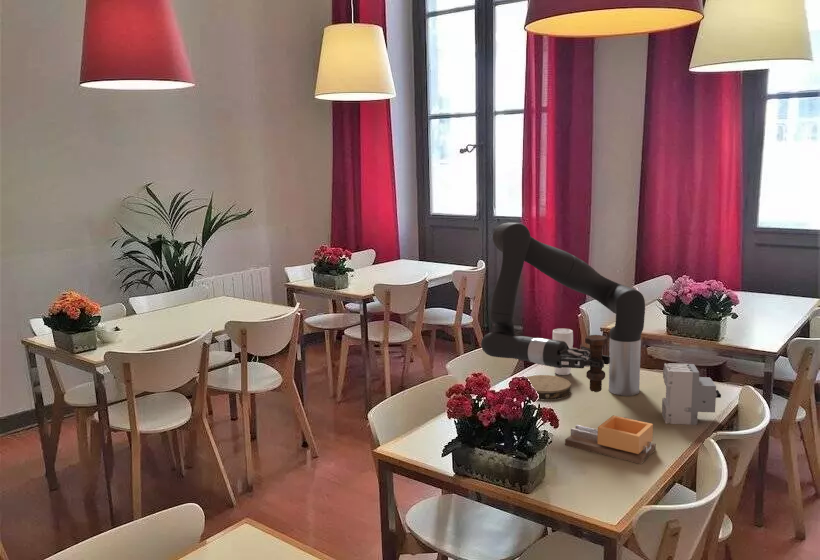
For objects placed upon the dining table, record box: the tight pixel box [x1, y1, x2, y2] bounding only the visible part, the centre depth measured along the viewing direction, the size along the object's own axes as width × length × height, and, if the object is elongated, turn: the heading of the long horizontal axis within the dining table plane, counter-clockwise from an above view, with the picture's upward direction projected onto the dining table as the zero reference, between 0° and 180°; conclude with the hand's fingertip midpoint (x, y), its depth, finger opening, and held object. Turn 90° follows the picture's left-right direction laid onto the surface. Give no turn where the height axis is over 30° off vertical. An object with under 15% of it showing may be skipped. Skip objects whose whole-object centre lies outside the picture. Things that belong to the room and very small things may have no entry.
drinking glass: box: [552, 328, 574, 376], centre depth 237 cm, size 7×7×15 cm
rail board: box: [564, 434, 657, 465], centre depth 178 cm, size 10×20×2 cm, turn 51°
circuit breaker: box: [661, 362, 722, 426], centre depth 193 cm, size 8×14×15 cm, turn 78°
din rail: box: [570, 424, 652, 453], centre depth 178 cm, size 4×20×2 cm, turn 51°
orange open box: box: [597, 415, 654, 454], centre depth 175 cm, size 10×10×4 cm
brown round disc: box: [525, 374, 572, 401], centre depth 221 cm, size 16×16×3 cm
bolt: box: [584, 334, 609, 393], centre depth 187 cm, size 6×5×15 cm
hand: (606, 362), depth 185 cm, fingers closed on bolt, 3 cm apart
